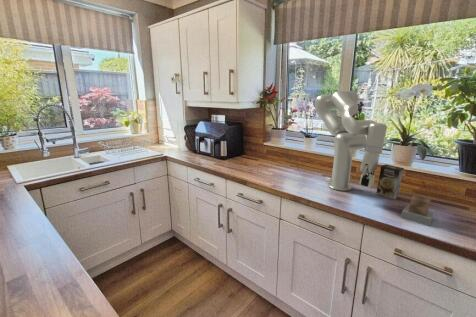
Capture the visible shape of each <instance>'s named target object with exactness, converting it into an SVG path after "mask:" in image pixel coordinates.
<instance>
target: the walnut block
mask: <svg viewBox="0 0 476 317" xmlns="http://www.w3.org/2000/svg"><path fill="white" fill-rule="evenodd" d="M409 205H410V206H409V212H413V213H416V214H420V215H423V216H425V215H426V214H427V212H428V210H429V208H430V205H431V198H428V197H424V196H421V195H415V194H414V195H412V197H411V198H410V202H409Z"/></svg>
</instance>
